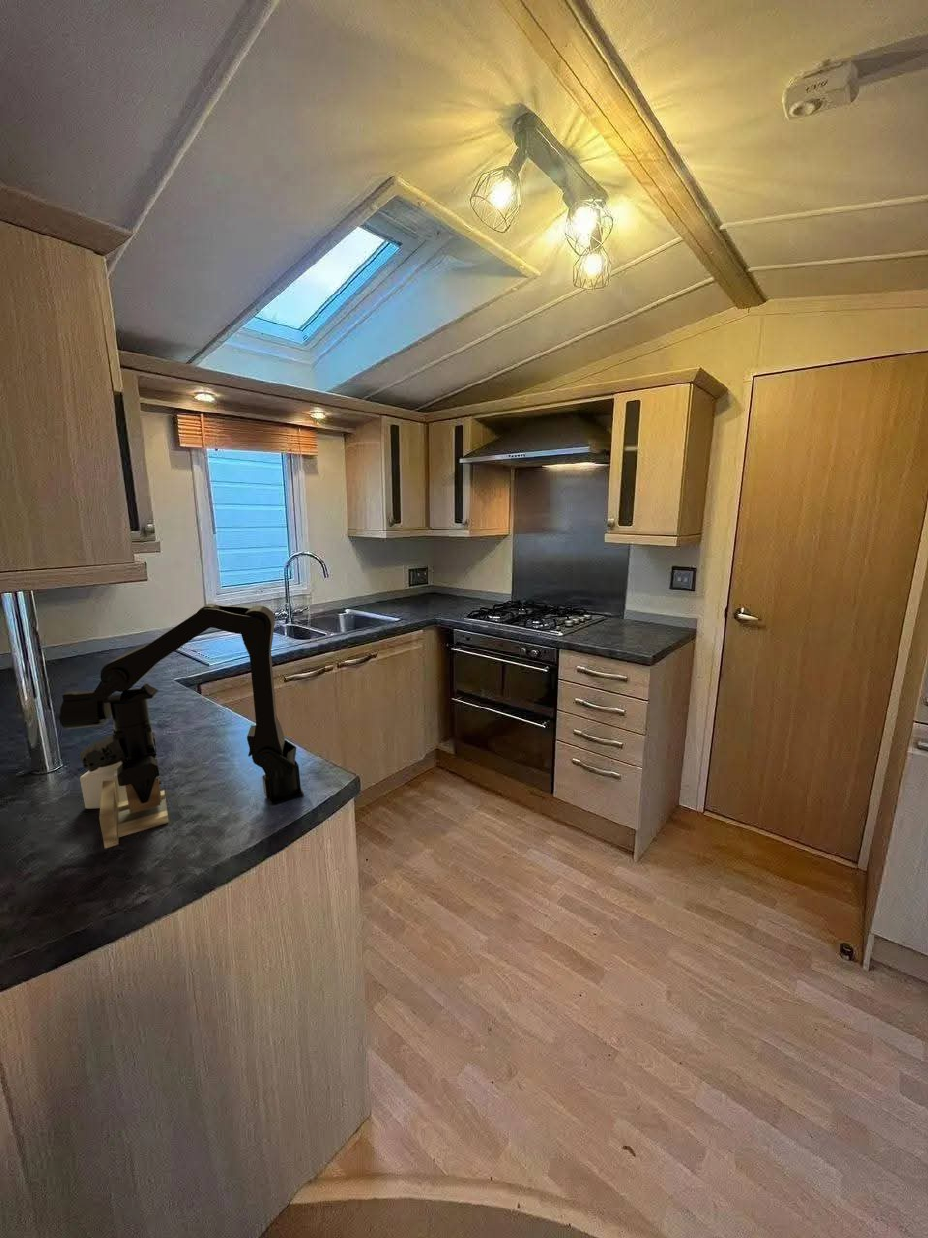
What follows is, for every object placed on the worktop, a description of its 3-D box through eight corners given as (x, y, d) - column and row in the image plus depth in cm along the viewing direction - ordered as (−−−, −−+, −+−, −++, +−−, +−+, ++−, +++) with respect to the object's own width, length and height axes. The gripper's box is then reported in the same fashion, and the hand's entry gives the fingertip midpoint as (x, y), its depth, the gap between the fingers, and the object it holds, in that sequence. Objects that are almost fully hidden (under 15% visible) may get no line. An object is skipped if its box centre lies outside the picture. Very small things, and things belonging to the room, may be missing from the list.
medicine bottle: (141, 789, 109) (133, 737, 107) (120, 808, 102) (111, 753, 100) (108, 790, 109) (98, 739, 106) (84, 809, 102) (74, 754, 99)
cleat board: (164, 791, 108) (160, 765, 107) (169, 828, 95) (165, 800, 93) (107, 806, 102) (103, 780, 101) (104, 848, 89) (99, 818, 88)
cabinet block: (163, 792, 103) (159, 765, 101) (164, 803, 99) (160, 775, 97) (130, 801, 100) (125, 773, 98) (130, 813, 95) (125, 784, 94)
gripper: (83, 715, 99) (96, 788, 102) (74, 751, 83) (90, 835, 87) (149, 703, 105) (160, 772, 108) (152, 734, 89) (165, 813, 93)
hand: (144, 796), depth 99 cm, fingers closed on cabinet block, 5 cm apart
